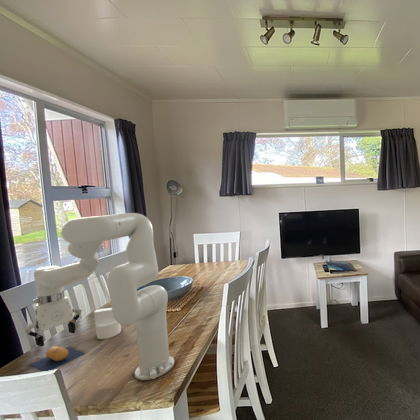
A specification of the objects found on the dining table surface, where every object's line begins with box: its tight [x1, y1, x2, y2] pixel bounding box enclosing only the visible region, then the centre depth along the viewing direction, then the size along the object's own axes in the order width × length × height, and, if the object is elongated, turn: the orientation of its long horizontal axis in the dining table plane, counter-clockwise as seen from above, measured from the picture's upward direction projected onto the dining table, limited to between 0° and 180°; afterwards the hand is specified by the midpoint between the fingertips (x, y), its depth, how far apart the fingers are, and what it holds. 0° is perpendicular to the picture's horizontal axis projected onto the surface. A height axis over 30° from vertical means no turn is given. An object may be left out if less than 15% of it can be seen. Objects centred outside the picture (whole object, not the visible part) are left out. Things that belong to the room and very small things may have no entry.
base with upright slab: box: [93, 307, 122, 340], centre depth 126 cm, size 9×9×12 cm
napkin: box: [30, 347, 85, 372], centre depth 108 cm, size 12×12×1 cm
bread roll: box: [45, 345, 69, 361], centre depth 108 cm, size 9×5×5 cm, turn 68°
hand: (57, 338), depth 108 cm, fingers open, 9 cm apart
